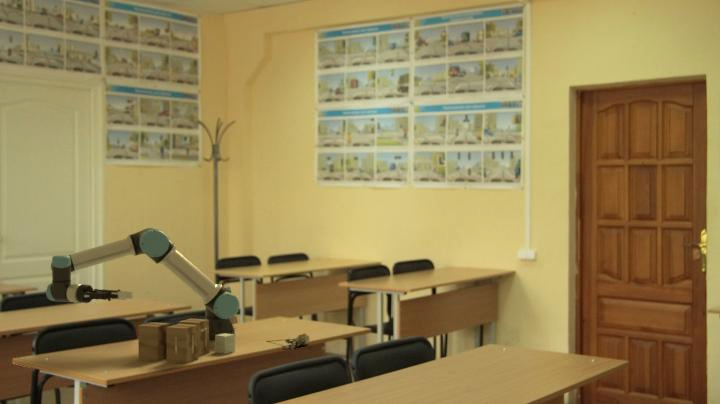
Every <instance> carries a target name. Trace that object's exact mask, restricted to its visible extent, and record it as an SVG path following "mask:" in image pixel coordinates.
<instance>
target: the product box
mask: <svg viewBox="0 0 720 404" xmlns="http://www.w3.org/2000/svg"><path fill="white" fill-rule="evenodd" d="M214 352H215V353H219V354H223V355H224V354H229V353H233V352H236V334H235V335H234V334H226V333H224V334H219V335H215V339H214Z"/></svg>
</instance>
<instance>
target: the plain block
mask: <svg viewBox="0 0 720 404" xmlns="http://www.w3.org/2000/svg"><path fill="white" fill-rule="evenodd" d="M169 326H171V323H169V322H156V321H155V322H153V321H151V322H147V323H143V324H140V325H139V324H138V325H137V327H138V328H137V329H138V335H137V337H138V361H142V362H143V361H144V362H145V361H147V362H158V363H159V362H161V361H164V360H167V336H166V327H169Z"/></svg>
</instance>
